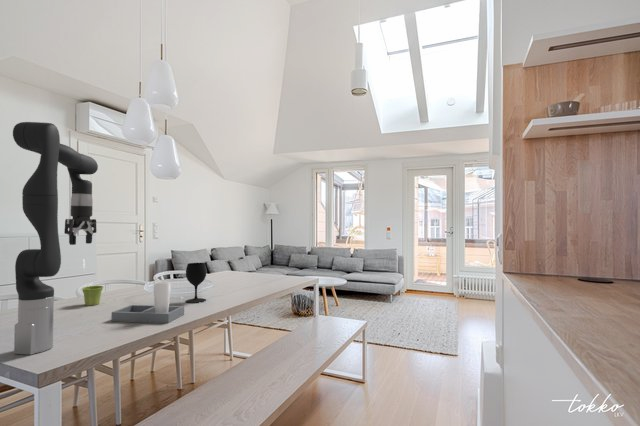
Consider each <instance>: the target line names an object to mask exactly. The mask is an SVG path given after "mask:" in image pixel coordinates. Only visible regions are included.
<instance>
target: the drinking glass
mask: <svg viewBox="0 0 640 426" xmlns="http://www.w3.org/2000/svg"><path fill="white" fill-rule="evenodd" d="M171 291H172V290H171V281H170V280H159V281H154V283H153V297H154V298H153V299H154V302H153V303H154V305H155V313H169V306H170V300H171Z"/></svg>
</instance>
